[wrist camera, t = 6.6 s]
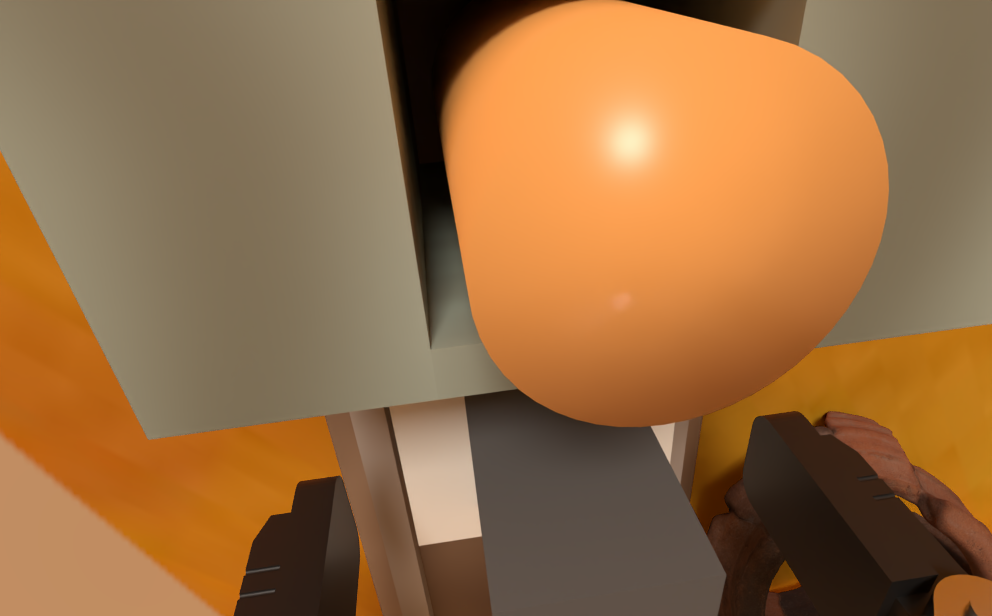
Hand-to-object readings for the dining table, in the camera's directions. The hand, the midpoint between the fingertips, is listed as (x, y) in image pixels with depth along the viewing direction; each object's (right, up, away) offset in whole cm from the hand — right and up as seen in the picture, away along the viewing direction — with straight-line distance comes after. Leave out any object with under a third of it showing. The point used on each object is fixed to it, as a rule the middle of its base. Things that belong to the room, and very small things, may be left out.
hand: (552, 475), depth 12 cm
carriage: (0, +2, +3) cm, 3 cm away
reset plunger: (-1, +7, -3) cm, 7 cm away
